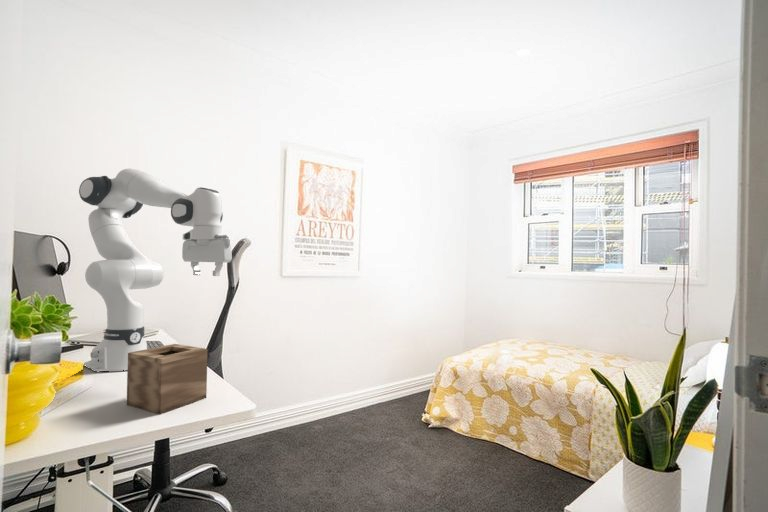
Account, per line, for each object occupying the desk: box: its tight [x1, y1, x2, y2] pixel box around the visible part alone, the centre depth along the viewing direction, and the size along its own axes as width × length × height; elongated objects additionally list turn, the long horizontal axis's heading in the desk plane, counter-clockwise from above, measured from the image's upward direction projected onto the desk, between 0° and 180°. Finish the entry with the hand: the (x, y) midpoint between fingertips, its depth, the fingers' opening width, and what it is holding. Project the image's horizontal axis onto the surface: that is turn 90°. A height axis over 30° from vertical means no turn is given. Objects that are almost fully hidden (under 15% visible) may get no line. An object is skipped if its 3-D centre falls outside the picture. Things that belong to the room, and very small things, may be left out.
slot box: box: [126, 343, 209, 415], centre depth 112 cm, size 14×14×14 cm
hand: (206, 275), depth 137 cm, fingers open, 8 cm apart
